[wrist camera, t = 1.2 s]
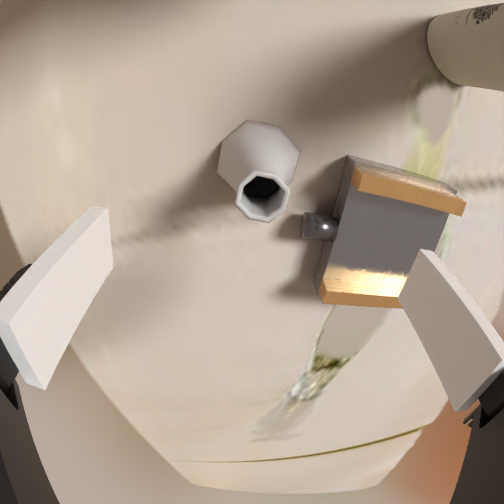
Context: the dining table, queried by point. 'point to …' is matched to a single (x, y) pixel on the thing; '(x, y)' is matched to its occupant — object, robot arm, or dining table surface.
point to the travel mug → (470, 46)
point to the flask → (258, 169)
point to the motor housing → (377, 232)
